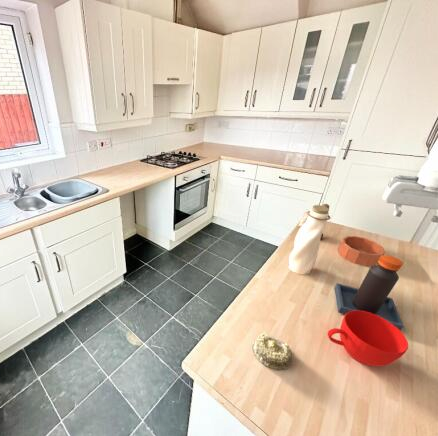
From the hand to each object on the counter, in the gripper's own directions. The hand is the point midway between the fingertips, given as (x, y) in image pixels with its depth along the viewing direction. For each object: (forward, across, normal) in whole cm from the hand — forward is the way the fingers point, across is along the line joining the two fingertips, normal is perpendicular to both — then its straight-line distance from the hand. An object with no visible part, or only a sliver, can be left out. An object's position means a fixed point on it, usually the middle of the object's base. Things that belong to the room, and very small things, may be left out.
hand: (415, 218), depth 80 cm
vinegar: (+27, -8, -19) cm, 34 cm away
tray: (+27, -8, -19) cm, 34 cm away
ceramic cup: (+27, -14, -40) cm, 51 cm away
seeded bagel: (+27, -34, -51) cm, 67 cm away
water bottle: (+27, -28, -6) cm, 39 cm away
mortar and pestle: (+27, -21, +24) cm, 42 cm away
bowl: (+27, -5, +15) cm, 31 cm away
